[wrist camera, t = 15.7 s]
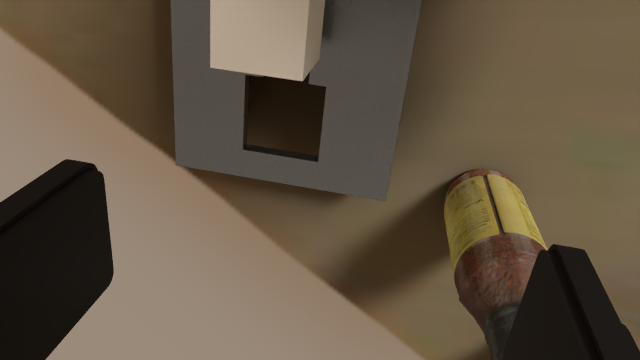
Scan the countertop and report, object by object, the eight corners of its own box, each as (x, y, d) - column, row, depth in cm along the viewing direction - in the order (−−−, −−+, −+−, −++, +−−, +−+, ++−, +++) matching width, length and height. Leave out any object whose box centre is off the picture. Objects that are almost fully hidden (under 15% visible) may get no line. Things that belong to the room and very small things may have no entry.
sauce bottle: (442, 231, 45) (456, 430, 27) (442, 165, 42) (457, 339, 24) (523, 231, 43) (592, 441, 26) (528, 163, 41) (609, 345, 23)
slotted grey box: (204, -85, 37) (167, -86, 32) (430, -59, 35) (432, -55, 30) (205, 136, 45) (175, 165, 39) (389, 166, 43) (385, 201, 38)
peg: (278, -48, 37) (210, -34, 25) (347, -40, 36) (311, -22, 25) (274, 23, 39) (210, 67, 27) (339, 32, 39) (302, 81, 27)
